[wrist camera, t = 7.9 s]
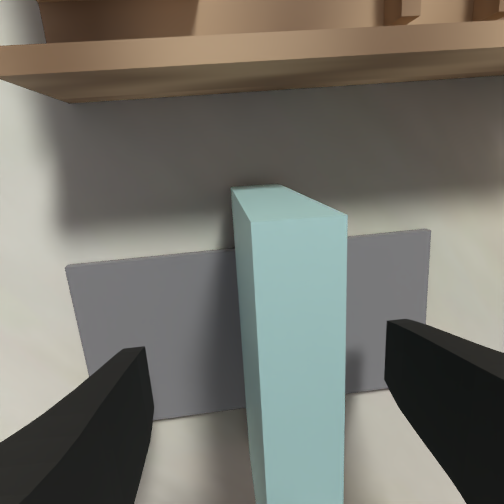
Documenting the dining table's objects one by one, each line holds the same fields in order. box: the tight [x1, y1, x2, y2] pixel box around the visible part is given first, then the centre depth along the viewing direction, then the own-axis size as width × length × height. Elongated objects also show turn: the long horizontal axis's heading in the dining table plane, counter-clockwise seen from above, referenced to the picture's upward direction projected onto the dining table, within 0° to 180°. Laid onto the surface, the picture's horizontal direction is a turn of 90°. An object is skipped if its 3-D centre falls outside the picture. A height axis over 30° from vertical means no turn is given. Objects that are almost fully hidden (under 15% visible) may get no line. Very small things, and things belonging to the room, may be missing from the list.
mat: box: [65, 229, 431, 420], centre depth 13 cm, size 12×6×1 cm, turn 95°
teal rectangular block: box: [231, 184, 348, 504], centre depth 10 cm, size 2×10×6 cm, turn 4°
